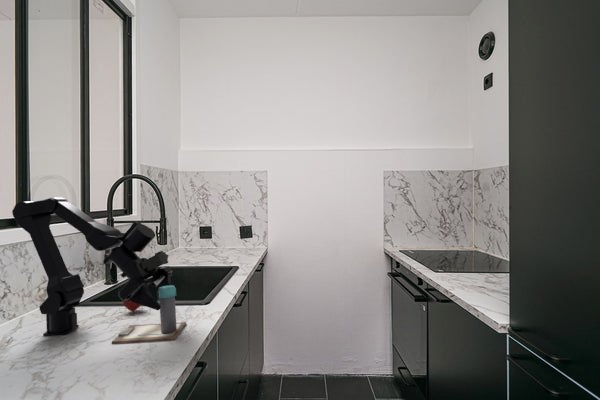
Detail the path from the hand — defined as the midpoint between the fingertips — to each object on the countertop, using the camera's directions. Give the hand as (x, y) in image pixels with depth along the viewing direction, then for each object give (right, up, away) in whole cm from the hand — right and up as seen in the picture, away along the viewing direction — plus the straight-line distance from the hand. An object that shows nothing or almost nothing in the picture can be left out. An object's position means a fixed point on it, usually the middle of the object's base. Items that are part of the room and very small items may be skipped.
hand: (168, 303), depth 98 cm
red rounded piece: (-20, -9, +21) cm, 30 cm away
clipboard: (-5, -8, +1) cm, 10 cm away
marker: (0, -7, 0) cm, 7 cm away
